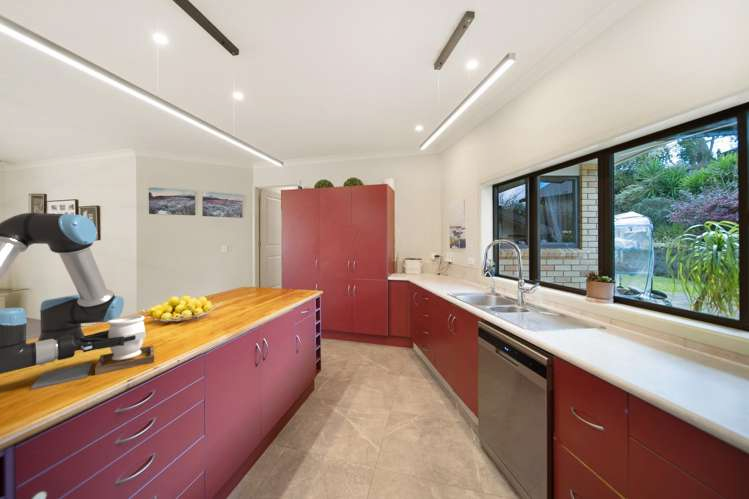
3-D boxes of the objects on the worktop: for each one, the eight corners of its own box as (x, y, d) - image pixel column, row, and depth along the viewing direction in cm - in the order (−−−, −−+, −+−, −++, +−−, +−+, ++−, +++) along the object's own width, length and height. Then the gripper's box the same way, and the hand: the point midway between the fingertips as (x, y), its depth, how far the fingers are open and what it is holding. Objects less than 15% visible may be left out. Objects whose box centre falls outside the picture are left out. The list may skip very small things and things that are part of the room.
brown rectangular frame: (100, 361, 103) (100, 355, 103) (153, 351, 114) (153, 345, 114) (95, 375, 92) (95, 368, 92) (154, 362, 103) (154, 355, 103)
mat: (43, 373, 93) (43, 372, 93) (92, 364, 101) (92, 362, 101) (30, 389, 82) (30, 388, 82) (86, 377, 90) (86, 376, 90)
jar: (122, 363, 97) (121, 323, 97) (100, 360, 99) (100, 321, 99) (151, 351, 107) (151, 315, 107) (131, 349, 109) (131, 314, 109)
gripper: (51, 352, 94) (132, 335, 113) (61, 369, 82) (150, 347, 100) (50, 332, 94) (132, 318, 113) (61, 345, 82) (150, 327, 100)
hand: (141, 331), depth 106 cm, fingers closed on jar, 10 cm apart
